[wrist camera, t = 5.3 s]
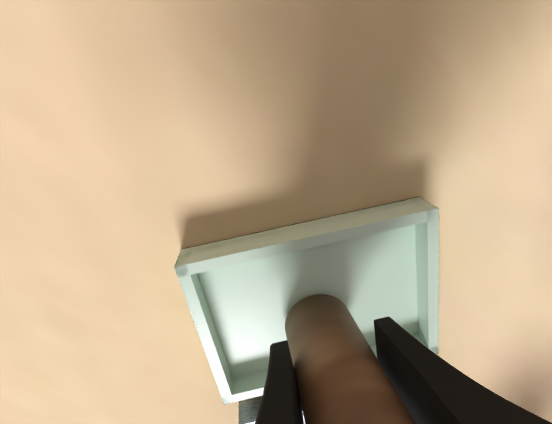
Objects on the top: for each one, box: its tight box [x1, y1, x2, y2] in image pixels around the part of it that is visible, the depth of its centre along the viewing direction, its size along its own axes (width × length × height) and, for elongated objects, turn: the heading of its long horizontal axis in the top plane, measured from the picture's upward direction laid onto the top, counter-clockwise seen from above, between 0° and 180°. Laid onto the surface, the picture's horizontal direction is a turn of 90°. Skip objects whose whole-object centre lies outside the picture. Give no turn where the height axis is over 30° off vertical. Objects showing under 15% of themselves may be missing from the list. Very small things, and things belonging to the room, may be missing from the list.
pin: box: [285, 294, 416, 424], centre depth 11 cm, size 4×4×9 cm
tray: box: [174, 197, 439, 404], centre depth 15 cm, size 11×8×2 cm
